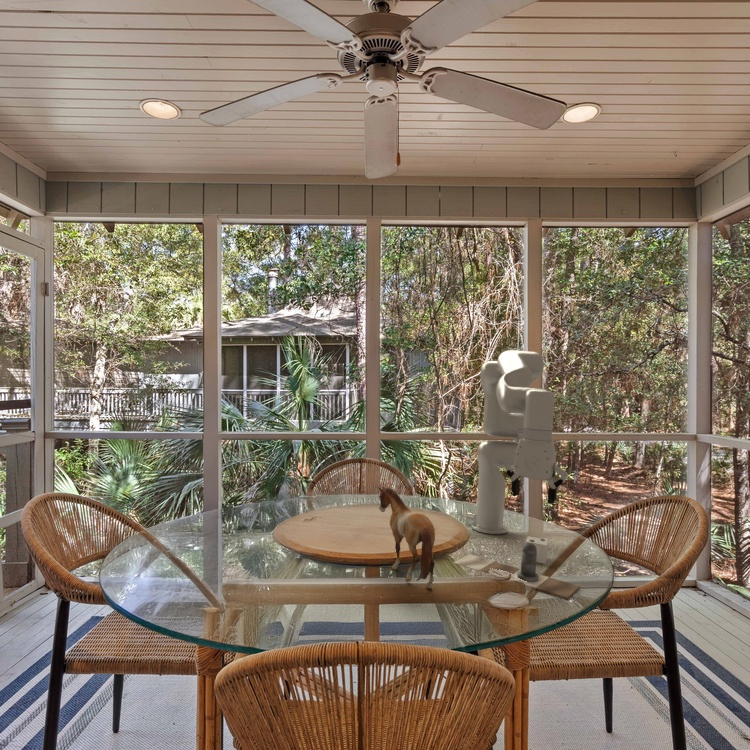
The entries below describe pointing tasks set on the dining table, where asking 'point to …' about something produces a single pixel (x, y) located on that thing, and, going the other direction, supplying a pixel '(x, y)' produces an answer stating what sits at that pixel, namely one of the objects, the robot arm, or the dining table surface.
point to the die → (539, 548)
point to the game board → (542, 585)
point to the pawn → (528, 563)
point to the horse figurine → (410, 533)
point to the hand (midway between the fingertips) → (533, 499)
